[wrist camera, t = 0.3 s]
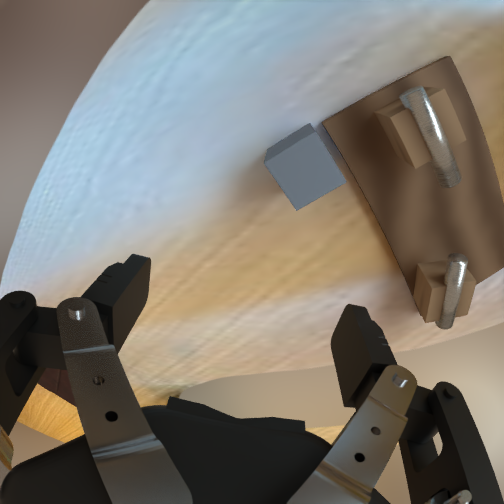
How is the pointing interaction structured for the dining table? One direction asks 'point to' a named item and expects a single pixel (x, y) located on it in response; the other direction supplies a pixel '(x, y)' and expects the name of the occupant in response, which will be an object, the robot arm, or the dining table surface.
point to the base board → (426, 184)
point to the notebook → (57, 383)
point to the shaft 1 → (432, 136)
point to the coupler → (303, 167)
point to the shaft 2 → (452, 288)
